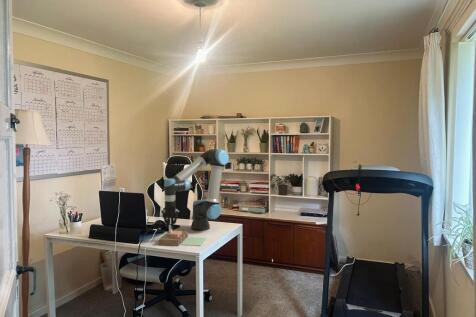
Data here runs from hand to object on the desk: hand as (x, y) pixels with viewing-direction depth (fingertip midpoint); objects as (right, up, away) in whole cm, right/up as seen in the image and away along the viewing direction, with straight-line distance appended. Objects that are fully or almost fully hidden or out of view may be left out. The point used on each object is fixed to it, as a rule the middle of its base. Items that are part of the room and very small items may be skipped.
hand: (170, 233), depth 247 cm
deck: (+2, -5, 0) cm, 6 cm away
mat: (+17, -5, -2) cm, 18 cm away
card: (+4, -1, -1) cm, 4 cm away
